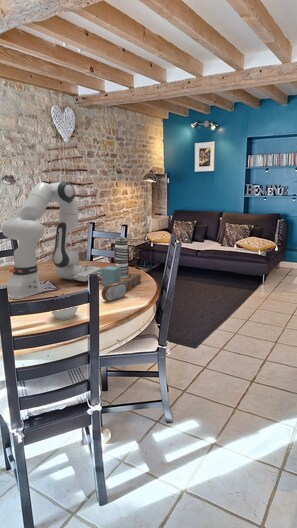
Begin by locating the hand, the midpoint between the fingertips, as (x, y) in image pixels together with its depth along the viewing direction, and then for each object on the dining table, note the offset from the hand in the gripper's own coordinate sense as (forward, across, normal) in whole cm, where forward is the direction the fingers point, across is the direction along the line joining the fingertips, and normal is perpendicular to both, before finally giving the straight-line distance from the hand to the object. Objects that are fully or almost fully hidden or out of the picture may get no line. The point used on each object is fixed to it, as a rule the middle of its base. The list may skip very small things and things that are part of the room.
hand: (101, 275), depth 209 cm
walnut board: (+19, 0, +5) cm, 20 cm away
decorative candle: (+4, +19, +5) cm, 20 cm away
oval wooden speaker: (+20, -24, +5) cm, 32 cm away
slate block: (+6, 0, +5) cm, 8 cm away
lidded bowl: (+10, -54, +5) cm, 55 cm away
